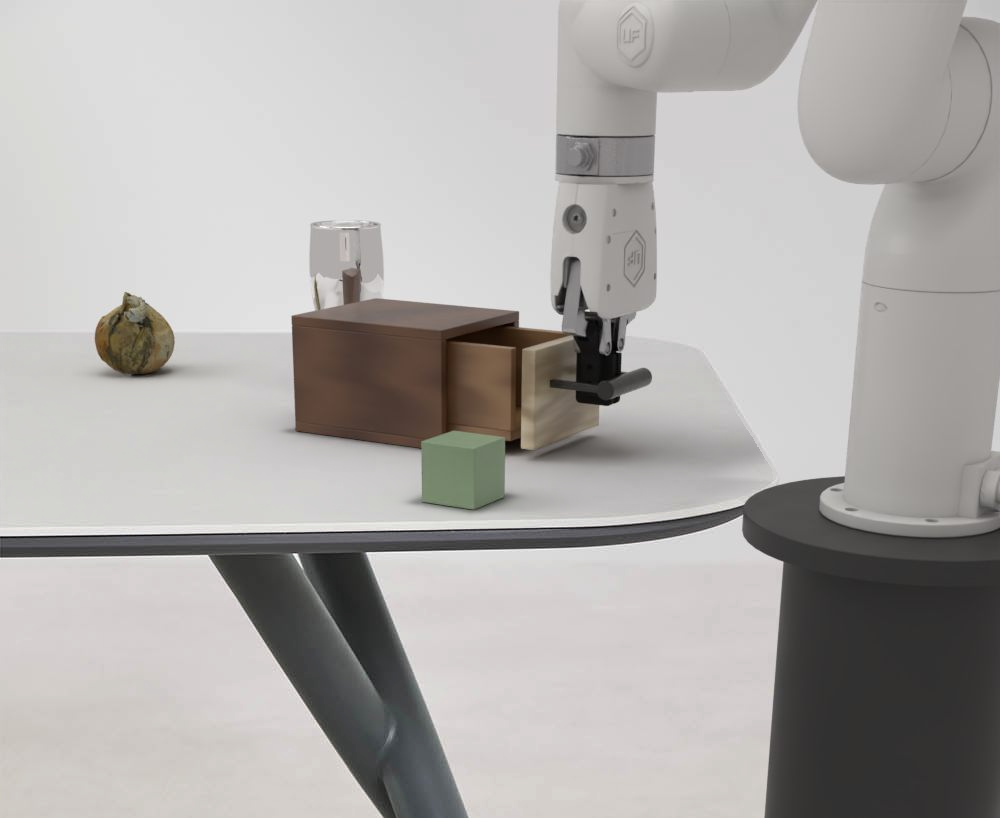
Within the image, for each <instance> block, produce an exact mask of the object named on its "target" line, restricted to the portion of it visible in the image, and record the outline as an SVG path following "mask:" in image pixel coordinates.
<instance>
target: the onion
mask: <svg viewBox="0 0 1000 818" xmlns="http://www.w3.org/2000/svg"><path fill="white" fill-rule="evenodd" d="M175 342H176V341H175V334H174V330H173V329H172V327H171V325H170V323H168V321H167V320H166V319H165V317H164V316H163V315H162V314H161V313H160V312H158V311H157V310H156V309H155V308H154V307H153V306H151V305H150V304H149V303H148V302H146V300H145V299H143V297H142V296H137V295H136V294H131V293H130V292H127V291H124V292H123V296H122V303H121V304H120V305H119V306H116V307H115V308H113V309H112V310H111V311H110V312H108V313H107V314H105V315H103V316H101V318H100V319H99V321H98V322H97V324H96V328H95V331H94V344H95V349H96V352H97V354H98V356H99V358H100V360H101V361H102V362H104V363H105V364H106V365H107V366H108V367H110V369H112V370H114V371H117V372H118V373H121V374H124V375H125V374H127V375H128V374H129V375H132V376H134V375H137V374H138V375H142V374H143V375H144V374H146V375H147V374H151V373H154V372H156V371H157V370H160V369H161V368H163V367H164V366H165V365H166V363H168V362H169V360H170V358H172V355H173V353H174V349H175Z"/></svg>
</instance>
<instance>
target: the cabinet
mask: <svg viewBox="0 0 1000 818" xmlns="http://www.w3.org/2000/svg"><path fill="white" fill-rule="evenodd" d="M500 325H501V326H511V327H520V311H518V310H510V309H499V308H498V309H497V308H487V307H476V306H465V305H455V304H443V303H431V302H423V301H422V302H421V301H410V300H401V299H399V300H398V299H389V298H383V299H379V298H375V299H370V300H365V301H360V302H355V303H350V304H346V305H341V306H336V307H331V308H326V309H321V310H316V311H315V310H312V311H308V312H303V313H298V314H292V315H291V342H292V343H291V344H292V367H293V368H292V369H293V394H294V421H295V425H294V426H295V431H296V432H302V433H309V434H315V435H322V436H331V437H336V438H337V437H338V438H345V439H353V440H359V441H366V442H374V443H381V444H387V445H396V446H401V447H402V446H403V447H409V448H418V449H421V442H422V441H424V440H427V439H430V438H433V437H436V436H439V435H442V434H445V433H446V340H445V339H449V338H453V337H457V336H461V335H465V334H469V333H473V332H477V331H480V330H484V329H488V328H492V327H496V326H500Z"/></svg>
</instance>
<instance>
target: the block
mask: <svg viewBox="0 0 1000 818" xmlns="http://www.w3.org/2000/svg"><path fill="white" fill-rule="evenodd" d="M420 450H421V455H420V456H421V459H420V461H421V502H422V503H428V504H434V505H440V506H446V507H453V508H460V509H467V510H473V511H474V510H477V509H479V508H482V507H484V506H487V505H490V504H492V503H494V502H496V501H498V500H501V499H503V498H505V497H506V494H505V492H506V489H505V488H506V483H505V481H506V441H505V437H499V436H491V435H484V434H476V433H468V432H461V431H451V432H448V433H445V434H442V435H439V436H436V437H433V438H430V439H427V440H424V441H422V442H421V448H420Z"/></svg>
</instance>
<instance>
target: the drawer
mask: <svg viewBox="0 0 1000 818" xmlns="http://www.w3.org/2000/svg"><path fill="white" fill-rule="evenodd" d="M445 340H446V433H448V432H451V431H461V432H468V433H476V434H484V435H491V436H499V437H505V442H512V441H515V440H518V439H520V449H522V450H528V451H535V450H538V449H540V448H544V447H546V446H549V445H551V444H553V443H556V442H559V441H561V440H564V439H567V438H570V437H571V436H574V435H577V434H580V433H582V432H584V431H587V430H589V429H592V428H595V427H598V426H599V425H600V405H593V404H585V403H578V402H577V401H576V391H585V392H594V393H597V394H598V396H599V397H600V398H601V399H603V400H609V399H612V398H615V397H618V396H620V397H621V396H623V395H625V394H628V393H631V392H634V391H637V390H639V389H642V388H645V387H648V386H650V385H651V383H652V381H653V375H652V372H651V371H650V369H648V368H647V367H640V368H637V369H634V370H630V371H622V370H621V375H619V376H616V377H613V378H610V379H607V380H604V381H601V382H600V383H599V384H593V383H584V382H576V360H577V353H576V352H575V351H574V340H573V336H571V335H567V334H564V333H563V332H562V330H552V329H542V328H532V327H531V328H530V327H521V326H519V327H511V326H501V325H500V326H496V327H492V328H488V329H484V330H480V331H477V332H473V333H469V334H465V335H461V336H457V337H453V338H449V339H445Z"/></svg>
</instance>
